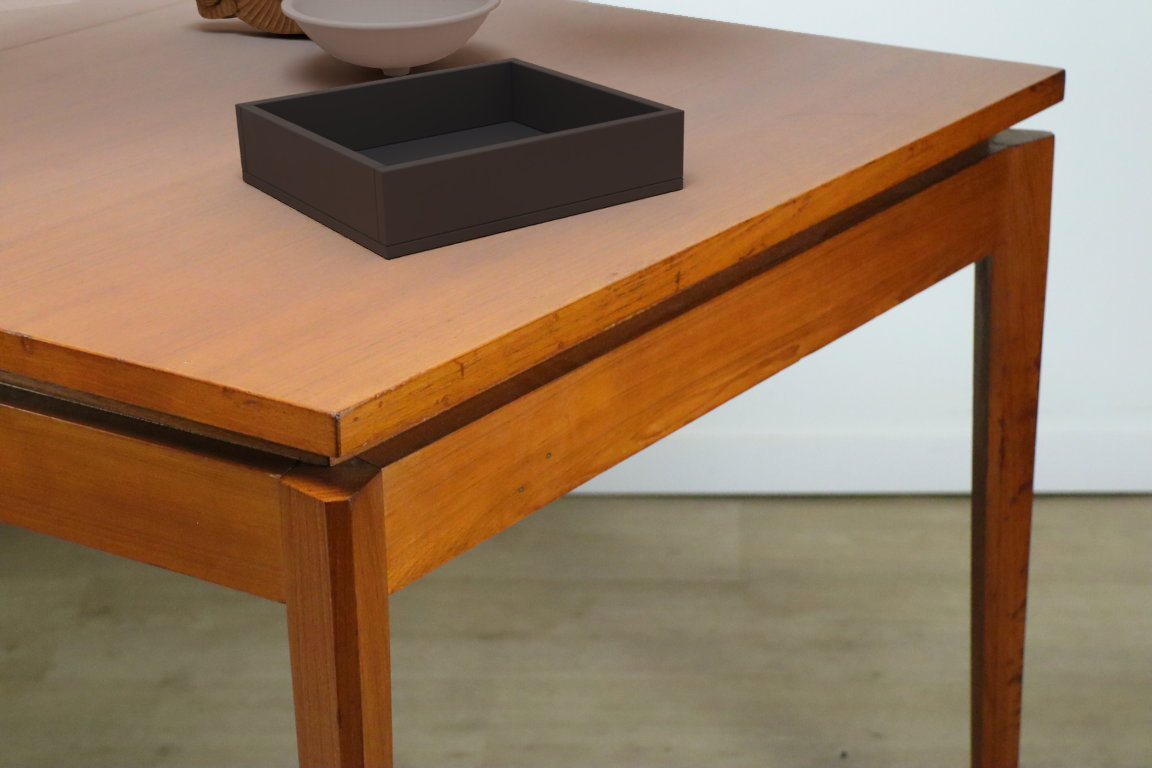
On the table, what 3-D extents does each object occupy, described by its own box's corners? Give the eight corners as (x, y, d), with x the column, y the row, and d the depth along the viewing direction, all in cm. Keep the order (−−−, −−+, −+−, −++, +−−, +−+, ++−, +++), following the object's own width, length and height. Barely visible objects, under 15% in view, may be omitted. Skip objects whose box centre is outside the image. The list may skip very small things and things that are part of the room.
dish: (302, 48, 110) (296, -23, 107) (501, 43, 110) (499, -27, 108) (272, 109, 94) (264, 27, 91) (505, 103, 94) (502, 22, 92)
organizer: (242, 180, 80) (234, 103, 78) (515, 126, 89) (514, 57, 87) (387, 259, 69) (381, 171, 67) (683, 188, 78) (685, 110, 76)
